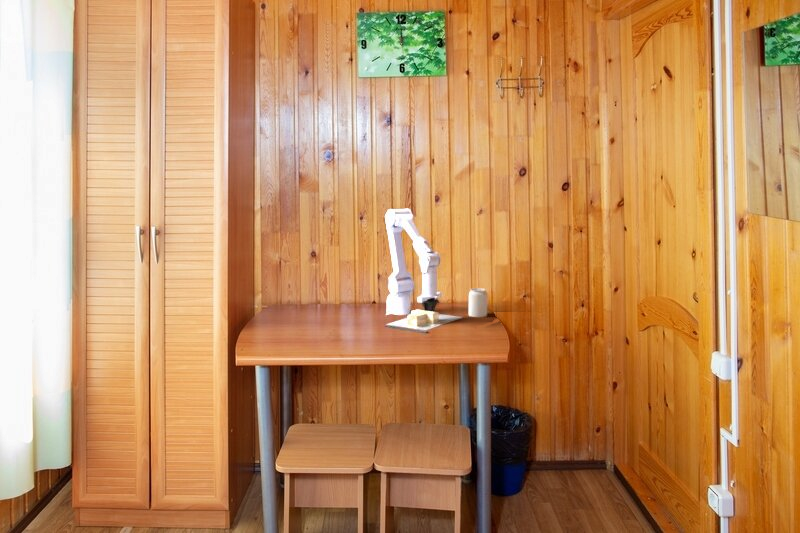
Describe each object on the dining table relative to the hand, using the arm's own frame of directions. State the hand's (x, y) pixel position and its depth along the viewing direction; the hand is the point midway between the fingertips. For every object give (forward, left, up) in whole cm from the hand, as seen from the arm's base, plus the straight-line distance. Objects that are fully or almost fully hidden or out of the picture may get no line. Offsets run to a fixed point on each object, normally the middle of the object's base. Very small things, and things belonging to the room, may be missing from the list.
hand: (429, 317), depth 260 cm
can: (+11, +20, -2) cm, 23 cm away
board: (-1, -1, -2) cm, 3 cm away
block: (0, -7, -1) cm, 7 cm away
